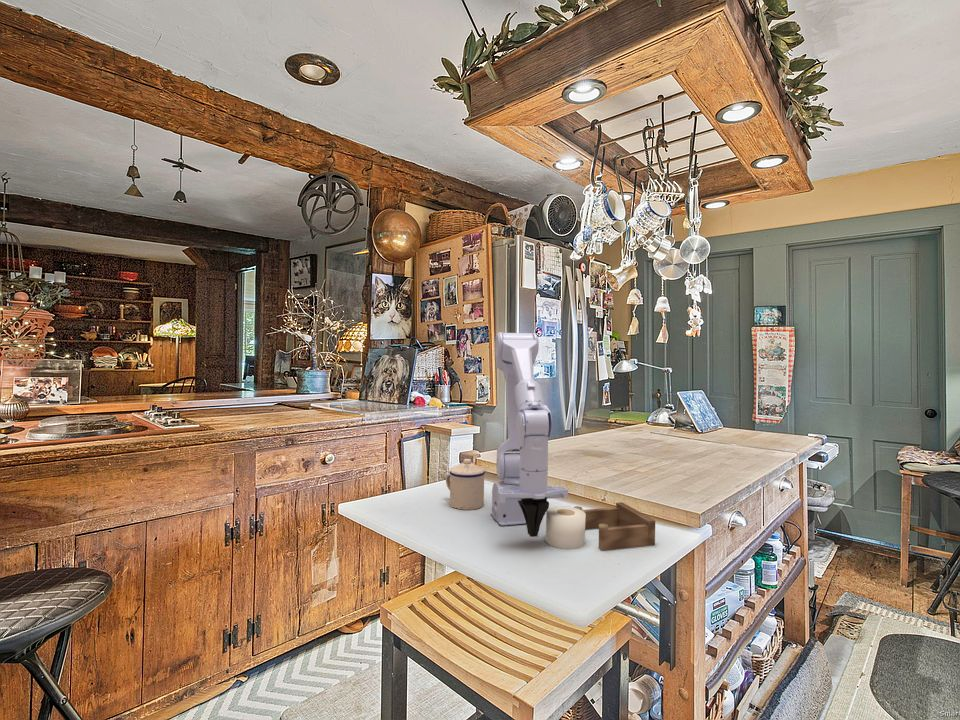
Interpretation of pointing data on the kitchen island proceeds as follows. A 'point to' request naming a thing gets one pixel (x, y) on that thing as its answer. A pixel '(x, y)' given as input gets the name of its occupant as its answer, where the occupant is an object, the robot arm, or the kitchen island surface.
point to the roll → (565, 527)
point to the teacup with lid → (466, 486)
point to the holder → (620, 527)
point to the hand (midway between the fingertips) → (532, 534)
